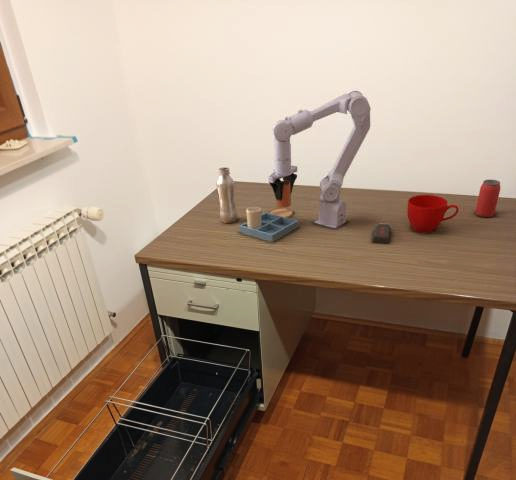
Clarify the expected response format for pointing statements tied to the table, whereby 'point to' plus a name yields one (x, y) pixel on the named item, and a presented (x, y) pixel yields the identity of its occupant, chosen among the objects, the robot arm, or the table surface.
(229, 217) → the plastic bottle
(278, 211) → the coaster
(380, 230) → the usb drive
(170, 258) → the table surface
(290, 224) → the rack
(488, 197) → the beer can
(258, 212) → the cream tumbler
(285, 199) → the tumbler
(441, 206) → the ceramic cup
